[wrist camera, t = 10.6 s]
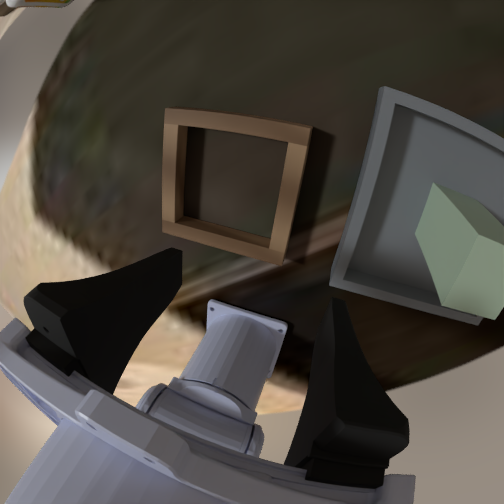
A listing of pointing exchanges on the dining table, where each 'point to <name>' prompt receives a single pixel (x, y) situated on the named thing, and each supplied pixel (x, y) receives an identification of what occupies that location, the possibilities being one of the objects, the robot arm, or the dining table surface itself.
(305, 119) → the dining table surface
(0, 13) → the square serving dish
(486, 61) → the dining table surface
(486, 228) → the green elongated block
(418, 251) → the tray
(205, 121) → the square brown frame
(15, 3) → the supplement bottle
